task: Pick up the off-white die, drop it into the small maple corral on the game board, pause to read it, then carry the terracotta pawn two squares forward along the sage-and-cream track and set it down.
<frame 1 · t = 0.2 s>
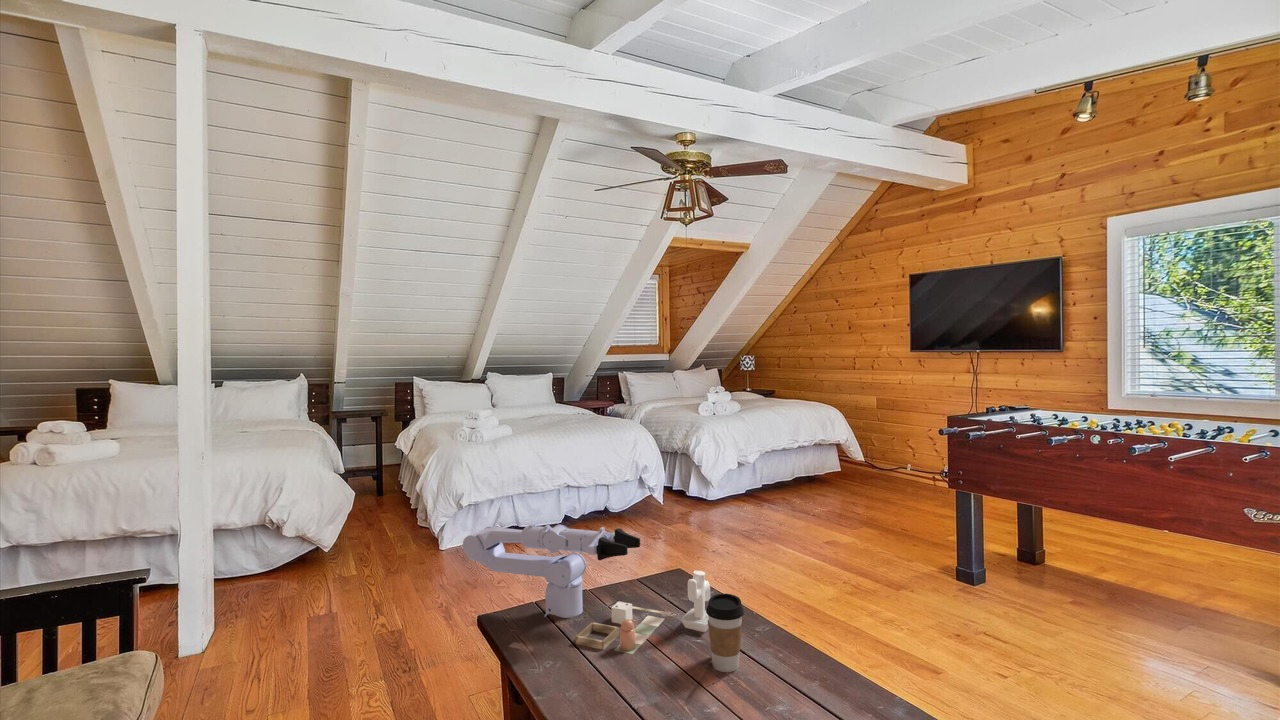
hand: (633, 546, 166), 21 cm above the table, tool horizontal, fingers open, 7 cm apart
coffee cup: (725, 666, 148), on the table
game board: (624, 633, 164), on the table
pawn: (627, 647, 155), point 1 cm above the table, touching game board
figurine: (699, 631, 165), on the table
die: (622, 620, 169), point 1 cm above the table, touching game board
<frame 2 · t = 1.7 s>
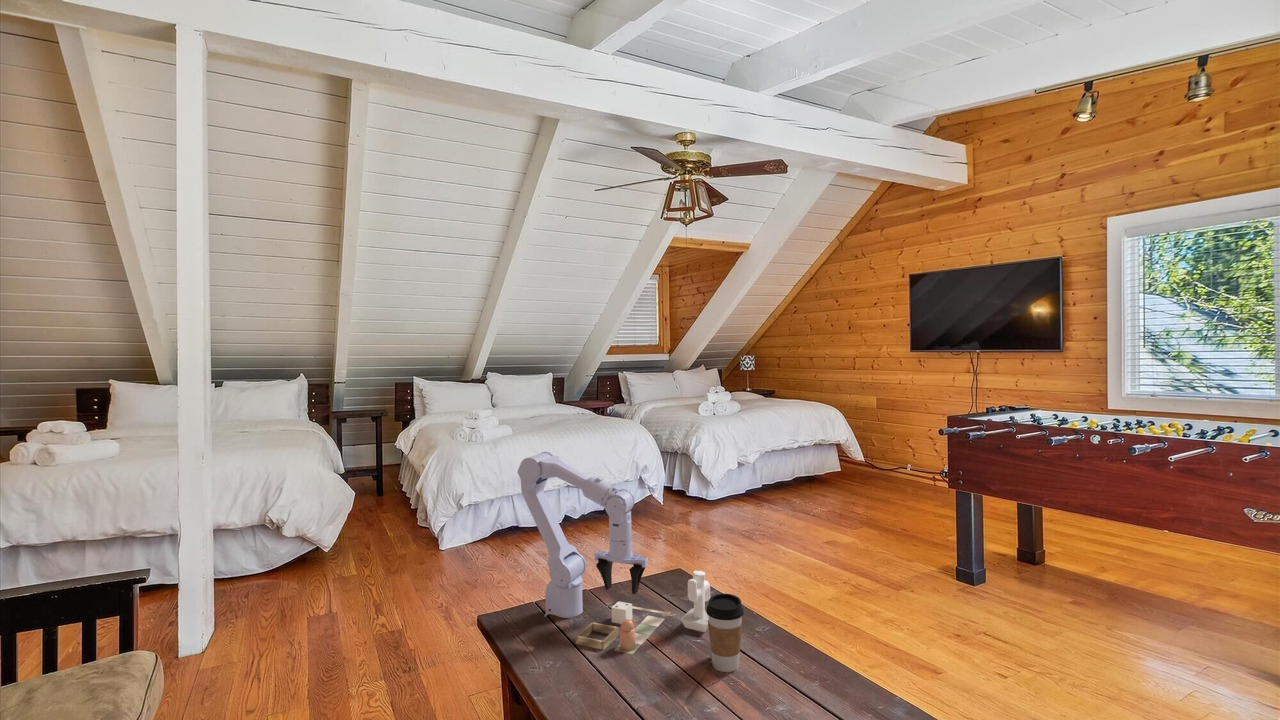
hand: (621, 590, 169), 9 cm above the table, tool pointing down, fingers open, 7 cm apart
nothing on the table moved.
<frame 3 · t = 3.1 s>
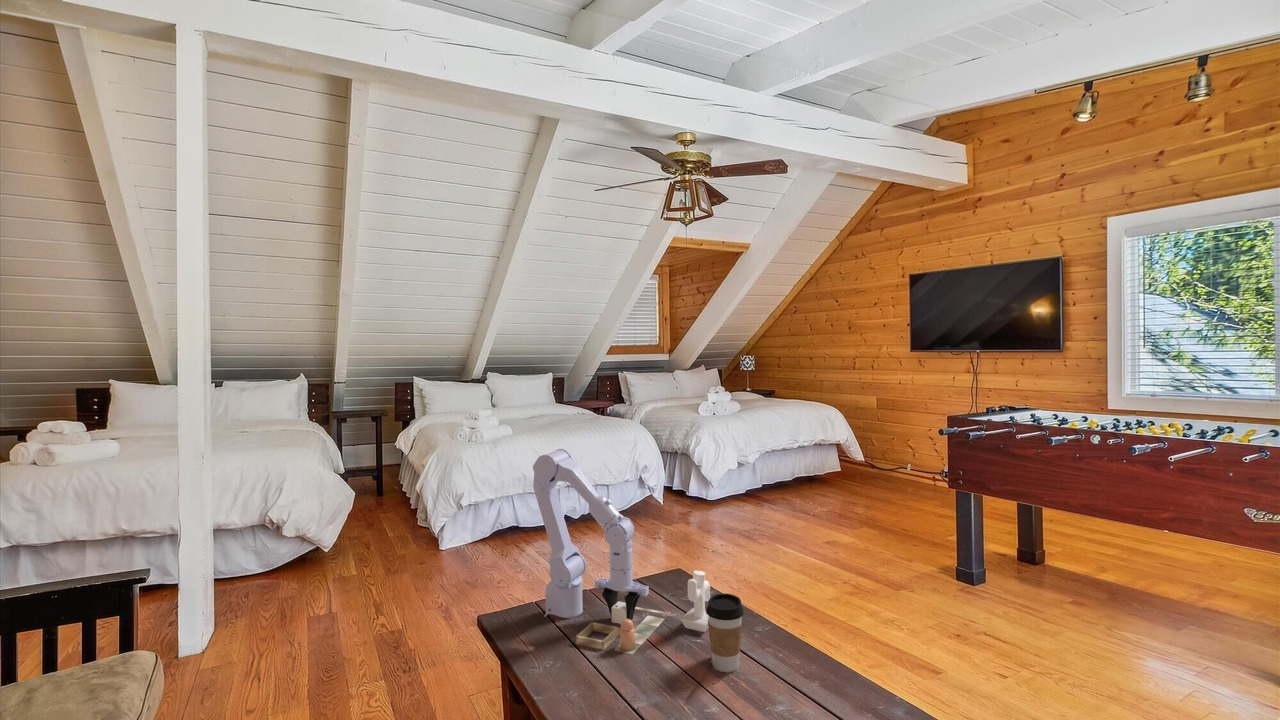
hand: (622, 618, 169), 2 cm above the table, tool pointing down, fingers closed on die, 4 cm apart
die: (622, 620, 169), point 1 cm above the table, touching game board, gripper
everything else where it was.
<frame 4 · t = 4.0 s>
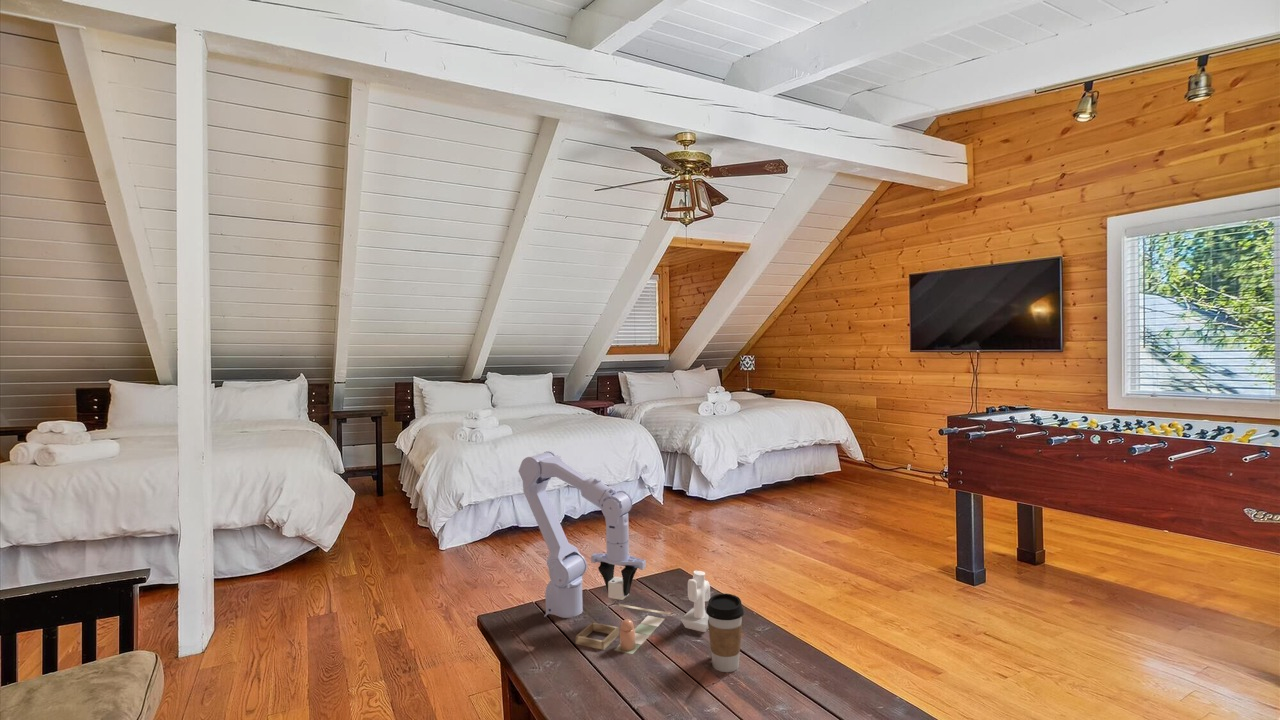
hand: (618, 592, 167), 9 cm above the table, tool pointing down, fingers closed on die, 4 cm apart
die: (618, 595, 168), point 8 cm above the table, touching gripper
everything else where it was.
when the fingers open (6 cm above the table, at t = 5.2 s): die drops 4 cm, resting on game board.
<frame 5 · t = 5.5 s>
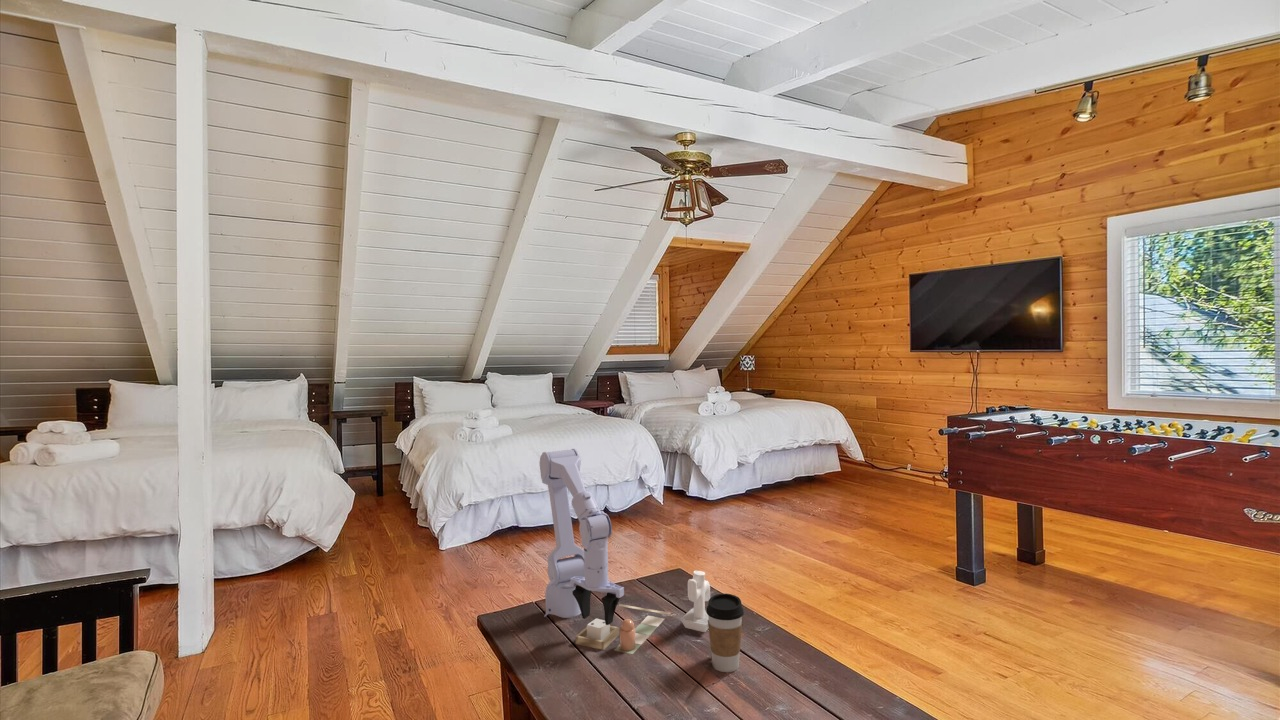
hand: (597, 620, 159), 6 cm above the table, tool pointing down, fingers open, 6 cm apart
die: (598, 639, 159), point 1 cm above the table, touching game board
everything else where it was.
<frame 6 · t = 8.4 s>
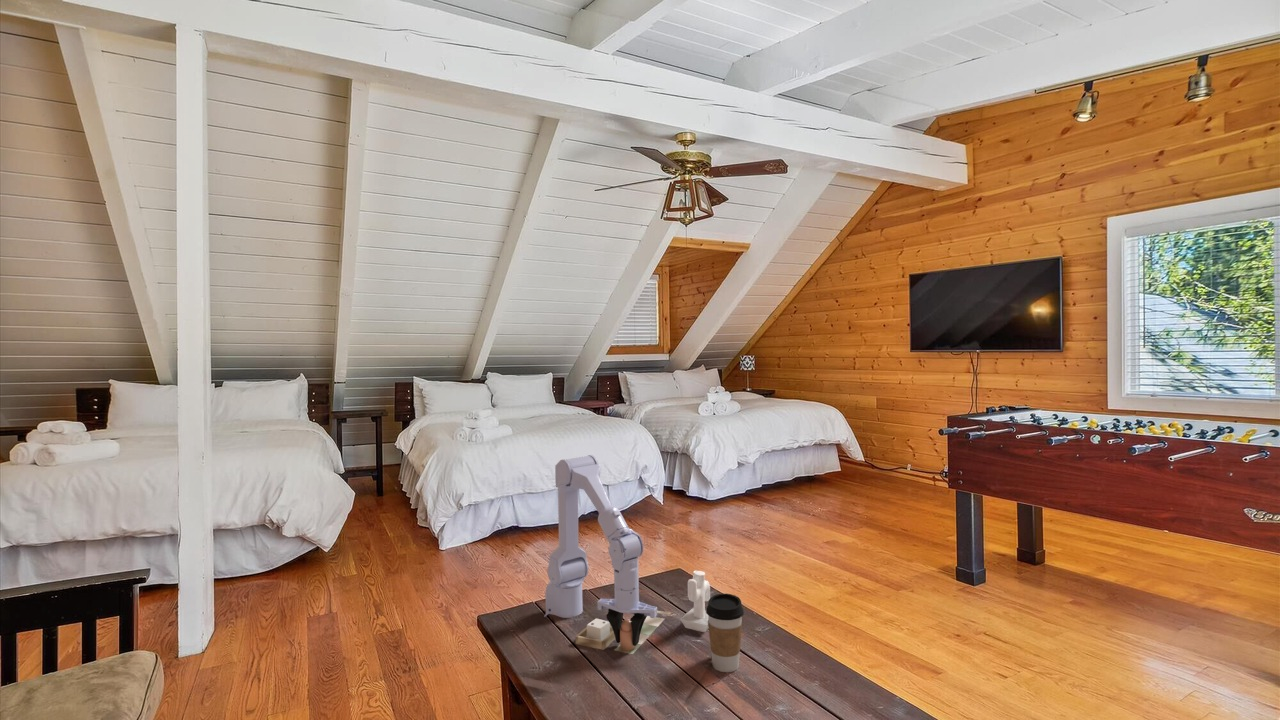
hand: (627, 642, 155), 2 cm above the table, tool pointing down, fingers closed on pawn, 4 cm apart
pawn: (627, 647, 155), point 1 cm above the table, touching game board, gripper
everything else where it was.
when the fingers open (3 cm above the table, at t = 11.5 s): pawn stays where it is, resting on game board.
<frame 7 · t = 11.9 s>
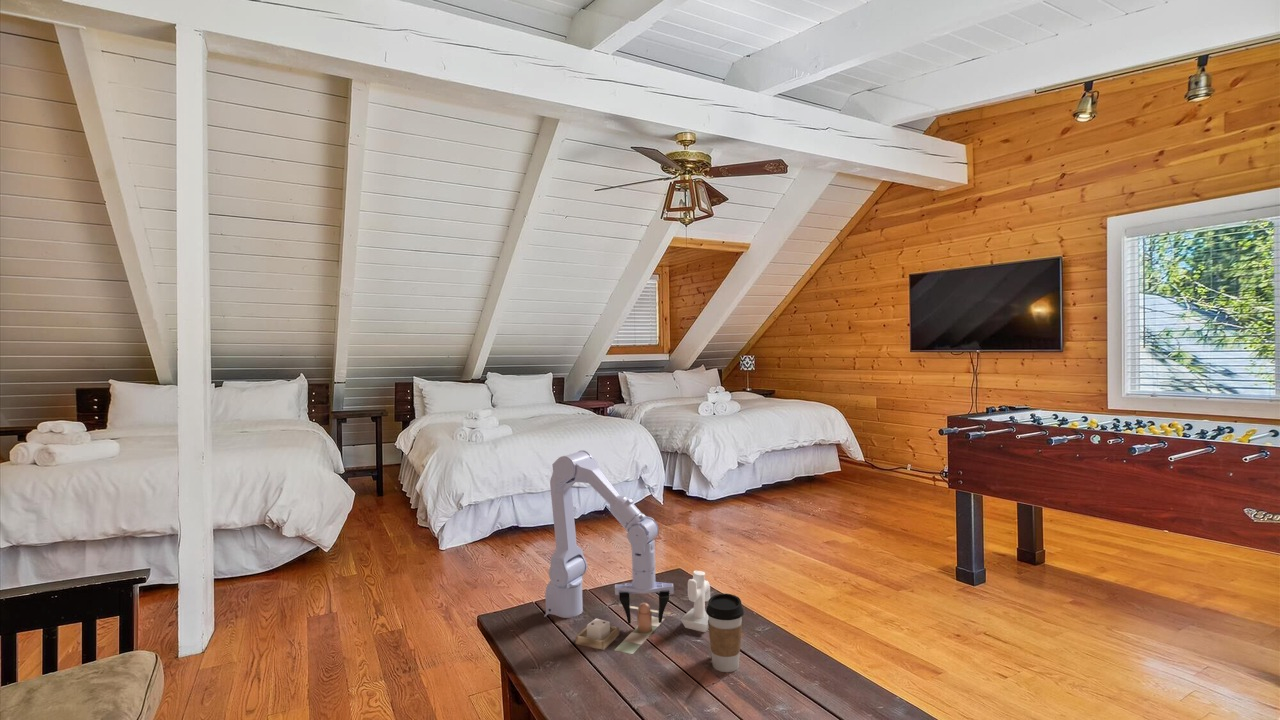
hand: (644, 621, 164), 3 cm above the table, tool pointing down, fingers open, 7 cm apart
pawn: (644, 629, 164), point 1 cm above the table, touching game board
everything else where it was.
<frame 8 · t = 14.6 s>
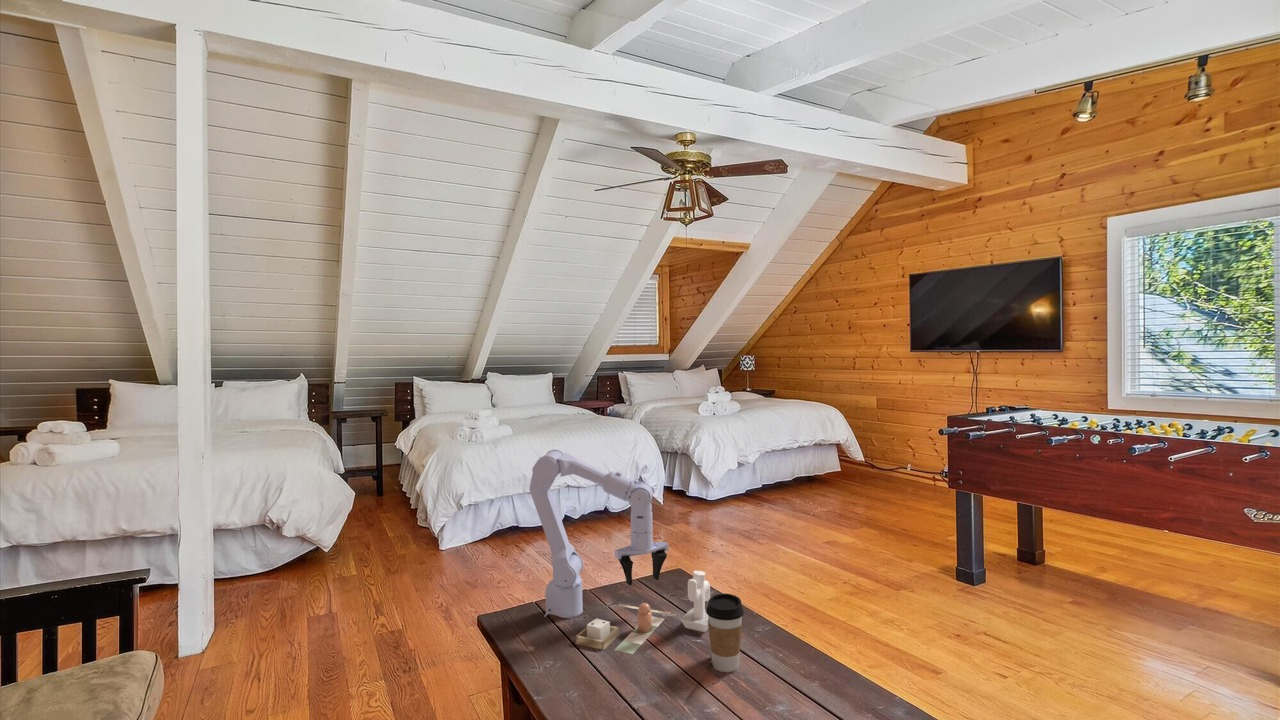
hand: (642, 581, 172), 10 cm above the table, tool pointing down, fingers open, 7 cm apart
nothing on the table moved.
at the end: die inside the target area on the game board (0.3 cm from its centre), point 1.0 cm above the game board's base; pawn 0.1 cm from the target spot, point 1.3 cm above the table; pawn tilted 3° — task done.
